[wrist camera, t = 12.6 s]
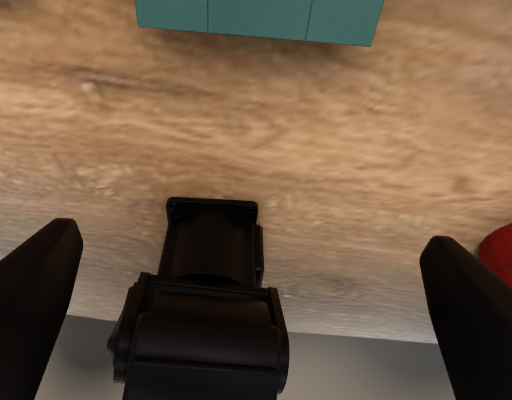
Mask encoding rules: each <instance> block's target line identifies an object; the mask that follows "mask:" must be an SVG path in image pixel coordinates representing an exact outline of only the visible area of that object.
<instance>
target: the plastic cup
mask: <svg viewBox="0 0 512 400" xmlns="http://www.w3.org/2000/svg"><path fill="white" fill-rule="evenodd" d="M479 256H480V262H481V263H483V264H484V265H485V266H486V267H487V268H488V269H490V270H491V271H492V272H493V273H494V274H496V275H497V276H498V277H499V278H500V279H502V280H503V281H504V282H505V283H506V284H508V285H509V286H510V287H511V288H512V224H510V225H507V226H505V227H502V228H500V229H498V230H497V231H495V232H494V233H492V234H491V235H490V236H488V237H487V238H486V239H485V241H484V242H483V243H482V244H481V245H480V249H479Z"/></svg>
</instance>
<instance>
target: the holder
mask: <svg viewBox="0 0 512 400" xmlns="http://www.w3.org/2000/svg"><path fill="white" fill-rule="evenodd" d="M383 3H384V0H135V7H136V15H137V23H138V27H144V28H156V29H168V30H180V31H192V32H203V33H207V32H208V33H216V34H228V35H240V36H251V37H263V38H275V39H287V40H299V41H309V42H321V43H333V44H345V45H356V46H368V47H370V46H371V43H372V40H373V37H374V33H375V30H376V27H377V23H378V20H379V17H380V13H381V10H382V6H383Z"/></svg>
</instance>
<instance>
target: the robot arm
mask: <svg viewBox="0 0 512 400" xmlns="http://www.w3.org/2000/svg"><path fill="white" fill-rule="evenodd" d="M173 204H176V205H173ZM250 208H252V209H250ZM166 209H167V218H168V228H167V232H166V237H165V241H164V246H163V250H162V255H161V260H160V264H159V269H158V273H157V275H151V274H150V273H146V272H141V273H140V276H139V279H138V282H135V283H134V285H133V286H132V287H130V288H129V290H128V294H127V297H126V301H125V304H124V308H123V310H122V313H121V315H120V317H119V319H118V321H117V323H116V325H115V327H114V329H113V331H112V333H111V335H110V337H109V339H108V343H107V350H108V352H109V353H110V355H111V356H112V358H113V367H114V376H113V377H114V378H113V379H114V383H125V387H124V393H123V398H122V400H276V399H277V394H280V393H282V391H283V389H284V387H285V384H286V380H287V375H288V368H289V339H288V334H287V329H286V325H285V321H284V316H283V312H282V308H281V304H280V299H279V295H278V291H277V288H272V287H268V288H261V285H262V279H263V273H264V255H263V228H262V227H261V226H260V225H256V222H257V214H258V205H257V203H256V202H253V201H239V200H220V199H201V198H182V197H171V198H169V199H168V200H167V204H166ZM82 251H83V240H82V237H81V234H80V231H79V229H78V226H77V223H76V221H75V220H74V219H71V218H56V219H54V220H52V221H51V222H49V223H48V224H47V225H46V226H44V227H43V228H42V229H40V230H39V231H38V232H37V233H35V234H34V235H33V236H31V237H30V238H29V239H27V240H26V241H25V242H24V243H22V244H21V245H20V246H18V247H17V248H16V249H15V250H13V251H12V252H11V253H9V254H8V255H7V256H6V257H4V258H3V259H2V260H0V400H34V399H35V396H36V393H37V391H38V388H39V385H40V383H41V380H42V377H43V375H44V372H45V369H46V366H47V364H48V361H49V358H50V356H51V353H52V350H53V348H54V345H55V342H56V339H57V337H58V334H59V332H60V329H61V326H62V324H63V321H64V318H65V316H66V313H67V310H68V307H69V303H70V300H71V296H72V292H73V288H74V284H75V279H76V275H77V271H78V267H79V263H80V259H81V255H82ZM420 268H421V273H422V279H423V284H424V289H425V294H426V299H427V304H428V309H429V314H430V318H431V321H432V325H433V328H434V331H435V334H436V338H437V341H438V344H439V347H440V350H441V354H442V357H443V360H444V363H445V366H446V370H447V372H448V376H449V379H450V382H451V385H452V388H453V392H454V395H455V398H456V400H512V288H511V287H510V286H509V285H508V284H506V283H505V282H504V281H503V280H502V279H500V278H499V277H498V276H497V275H496V274H494V273H493V272H492V271H491V270H490V269H488V268H487V267H486V266H485V265H484V264H483V263H481V262H480V261H479V260H478V259H477V258H475V257H474V256H473V255H472V254H471V253H469V252H468V251H467V250H466V249H465V248H464V247H462V246H461V245H460V244H459V243H458V242H456V241H455V240H454V239H453V238H451V237H449V236H434V237H432V238H431V239H430V241H429V242H428V244H427V246H426V247H425V249H424V250H423V252H422V253H421V256H420Z"/></svg>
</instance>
